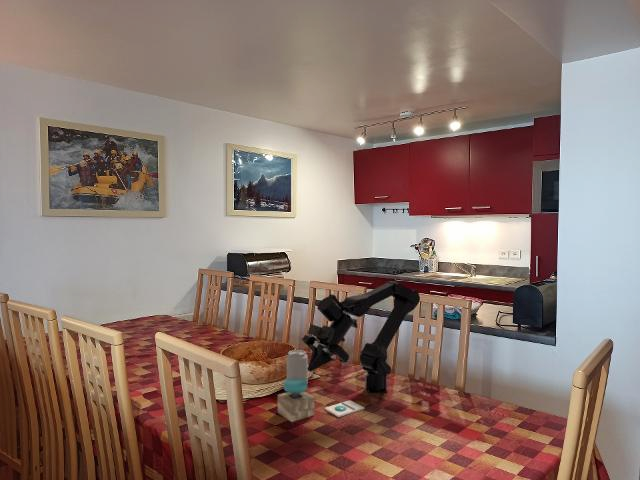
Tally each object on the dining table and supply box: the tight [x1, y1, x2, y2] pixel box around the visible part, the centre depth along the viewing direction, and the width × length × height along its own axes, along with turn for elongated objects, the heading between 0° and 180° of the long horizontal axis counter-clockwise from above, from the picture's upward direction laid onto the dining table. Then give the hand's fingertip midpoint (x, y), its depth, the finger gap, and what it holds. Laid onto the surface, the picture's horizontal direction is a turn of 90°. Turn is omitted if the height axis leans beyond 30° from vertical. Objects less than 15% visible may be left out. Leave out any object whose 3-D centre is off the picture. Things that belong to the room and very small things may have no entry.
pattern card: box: [324, 399, 365, 418], centre depth 141 cm, size 10×7×1 cm
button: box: [283, 378, 308, 399], centre depth 138 cm, size 7×7×5 cm
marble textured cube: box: [277, 391, 315, 423], centre depth 138 cm, size 8×8×6 cm
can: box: [286, 349, 309, 385], centre depth 162 cm, size 8×8×12 cm
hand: (308, 370), depth 140 cm, fingers closed
